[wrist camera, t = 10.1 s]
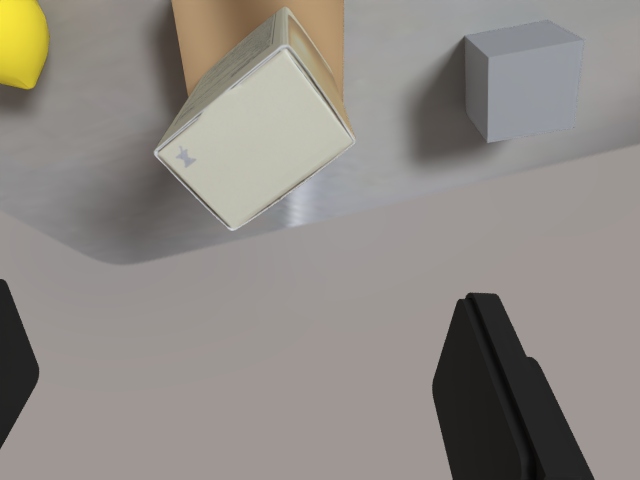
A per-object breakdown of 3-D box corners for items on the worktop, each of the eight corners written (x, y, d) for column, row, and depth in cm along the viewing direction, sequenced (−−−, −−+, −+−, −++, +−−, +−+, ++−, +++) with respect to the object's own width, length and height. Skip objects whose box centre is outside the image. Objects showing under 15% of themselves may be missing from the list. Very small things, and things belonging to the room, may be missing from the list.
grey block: (547, 19, 30) (584, 39, 26) (541, 98, 33) (574, 127, 29) (464, 35, 31) (488, 57, 27) (465, 112, 34) (487, 143, 29)
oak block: (339, -28, 29) (344, -18, 26) (339, 120, 34) (342, 144, 31) (184, -25, 29) (169, -14, 26) (207, 123, 34) (197, 148, 31)
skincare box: (250, 134, 30) (226, 241, 19) (199, 74, 28) (142, 158, 17) (338, 67, 28) (363, 145, 18) (290, -2, 26) (285, 41, 16)
